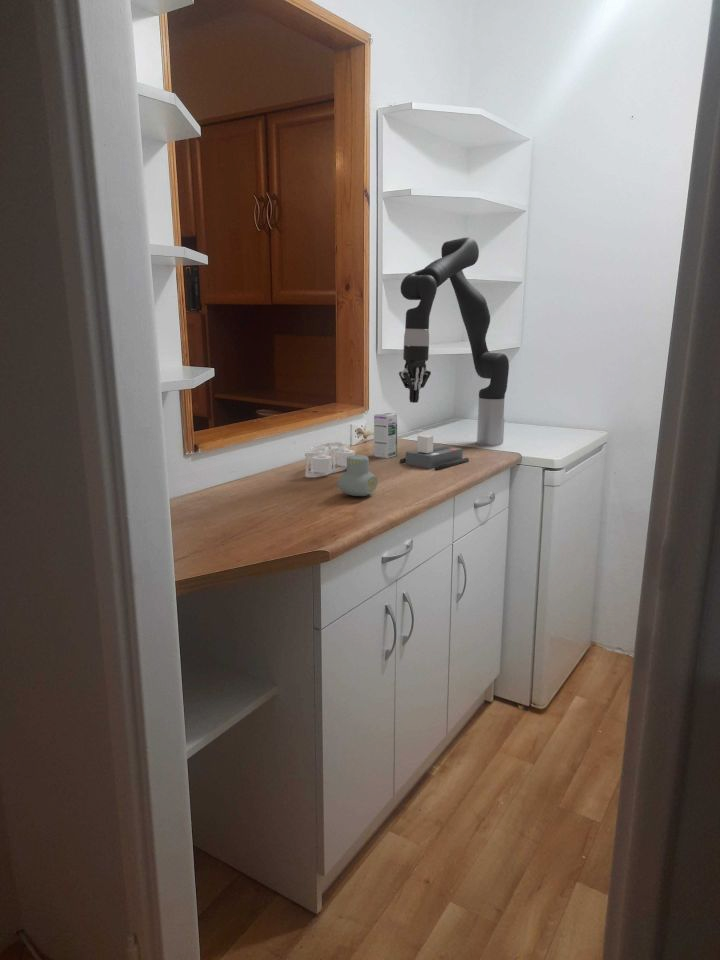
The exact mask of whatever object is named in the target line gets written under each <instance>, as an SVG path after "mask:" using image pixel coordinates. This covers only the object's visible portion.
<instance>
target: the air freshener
mask: <svg viewBox="0 0 720 960" xmlns="http://www.w3.org/2000/svg"><path fill="white" fill-rule="evenodd" d="M378 482H379V481H378V478H377V476H376V475H375V474H374V473H372V472H370V459H369V456H367V455H361V454H355V455H352V456H348V457H347V469H346V471H345V472H343V473H342V474H340V476H339V477H338V480H337V487H338V490H340V491H341V492H342V493H344V494H345V495H347V496H352V497H365V496H366V497H367V496H369V495H370V494H372V493H373V492H375V490H376V489H377V486H378Z"/></svg>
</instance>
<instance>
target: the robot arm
mask: <svg viewBox="0 0 720 960" xmlns="http://www.w3.org/2000/svg"><path fill="white" fill-rule="evenodd" d="M479 254H480V251H479V245H478V242H477V241H476V239H474V238H473V237H462V238H457V239H453V240H447V241H445V242H443V244H442V246H441V258H437V259H435V260H434V261H432V262H431V263H429V264H428V265H426V266H425V267H424V268H422V269H420V270H415V271H413V272H411V273H409V274H408V275H406V276H405V277H404V278H403V279H402V281H401V283H400V293H401V295H402V297H403V298H404V299H405V300H409V301H419V304H418V305H417V306H416V307H413V308H408V309H407V310H406V312H405V324H404V325H405V326H404V327H405V330H404V335H403V356H402V359H403V360H404V361H405V363H404V369H403V370H402V371H399V372H398V375H399V378H400V379H401V382H402V384H403V386H404V389H407V390H409V402H410V403H412V404H414V403H419V400H420V390H421V389H423V388H425V386H426V384H427V382H428V380H429V379H430V376H431V374H432V373H431V370H427V364H426V362H427V361H428V360H429V350H430V348H429V347H430V346H429V345H430V332H429V329H430V315H431V312H432V307H433V304H434V301H435V297H436V295H437V291H438V288H439V287H440V286H441V285H443V284H444V283H445V282H446V281H447V280H450V283H451V286H452V288H453V291H454V294H455V297H456V301H457V304H458V308H459V311H460V315H461V317H462V321H463V324H464V327H465V330H466V334H467V337H468V341H469V346H470V350H471V356H472V359H473V360H472V362H473V366H474V370H475V372H476V374H477V376H478V377H480V378H481V379H488V380H489V379H490V381H489V382H490V383H489V385H488V386H487V387H483V388H481V389H479V391H478V410H477V432H476V444H478V445H481V446H487V447H488V446H492V447H494V446H495V447H497V446H501V445H503V443H504V435H505V433H504V432H505V417H504V415H505V397H506V392H507V388H508V380H509V371H510V363H509V361H510V360H509V358H508V356H507V355H506V354H505V353H503V352H502V353H500V352H490V351H489V349H488V346H487V341H486V340H487V339H486V337H487V334H488V330H489V328H490V323H491V314H490V309H489V306H488V303H487V299H486V298H485V297H484V295H483V294H482V293H481V292H480V291H479V290H478V289H477V288H476V287H475V286H473V285H472V283H471V282H469V280H468V279H467V278H466V276H465V274H464V271H463V270H464V269H467V268H469V267H471V266H474V265H475V264H476V263H477V262H478V259H479V256H480V255H479Z"/></svg>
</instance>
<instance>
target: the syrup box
mask: <svg viewBox="0 0 720 960" xmlns="http://www.w3.org/2000/svg"><path fill="white" fill-rule="evenodd" d="M373 456H374V457H376V458H383V459H389V458H393V457H396V456H397V457H398V413H394V412H382V413H377V414H374V415H373Z"/></svg>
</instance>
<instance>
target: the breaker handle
mask: <svg viewBox="0 0 720 960" xmlns="http://www.w3.org/2000/svg"><path fill="white" fill-rule="evenodd" d="M416 442H417V443H416V444H417V445H416V446H417V448H416V450H417V452H423V453H430V452H433V446H434V436H433V435H426V434H420V435H417V441H416Z"/></svg>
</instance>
